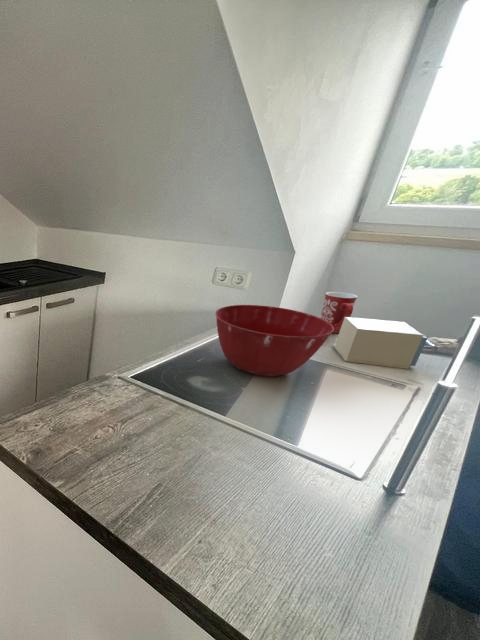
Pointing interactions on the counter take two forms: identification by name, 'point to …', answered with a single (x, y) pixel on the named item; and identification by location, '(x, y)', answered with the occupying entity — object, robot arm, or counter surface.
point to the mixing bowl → (269, 338)
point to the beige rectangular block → (378, 342)
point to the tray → (423, 344)
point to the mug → (337, 308)
